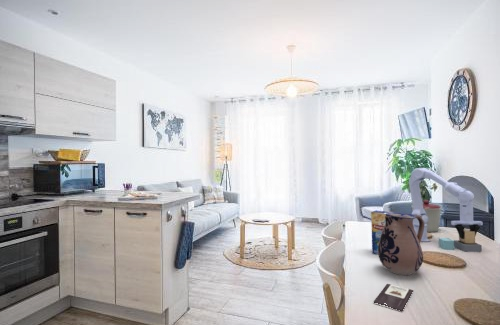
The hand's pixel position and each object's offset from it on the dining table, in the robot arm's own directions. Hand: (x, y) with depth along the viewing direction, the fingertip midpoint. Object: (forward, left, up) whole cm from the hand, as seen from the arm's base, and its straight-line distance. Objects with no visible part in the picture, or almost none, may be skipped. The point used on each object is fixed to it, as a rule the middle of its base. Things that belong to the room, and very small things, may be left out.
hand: (467, 238), depth 148 cm
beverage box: (-46, -11, -6) cm, 48 cm away
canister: (-1, +41, -6) cm, 41 cm away
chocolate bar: (-59, -58, -6) cm, 83 cm away
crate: (0, 0, -6) cm, 6 cm away
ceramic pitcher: (-46, -33, -6) cm, 57 cm away
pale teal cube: (-10, +1, -6) cm, 12 cm away
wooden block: (0, 0, -3) cm, 3 cm away
